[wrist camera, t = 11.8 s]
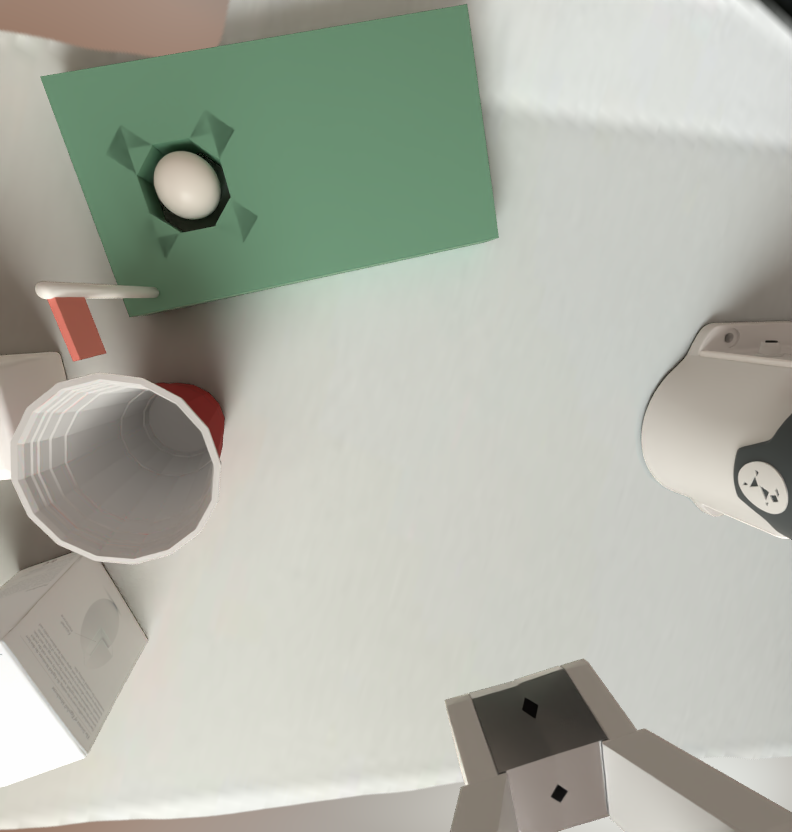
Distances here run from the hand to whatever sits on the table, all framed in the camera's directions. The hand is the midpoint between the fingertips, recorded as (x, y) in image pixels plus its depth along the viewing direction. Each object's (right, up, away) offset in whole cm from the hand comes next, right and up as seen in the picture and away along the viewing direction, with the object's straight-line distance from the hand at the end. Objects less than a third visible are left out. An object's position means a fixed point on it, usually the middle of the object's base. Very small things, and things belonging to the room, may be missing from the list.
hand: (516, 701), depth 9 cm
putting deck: (-10, +23, +23) cm, 34 cm away
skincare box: (-29, -10, +29) cm, 42 cm away
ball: (-16, +21, +20) cm, 33 cm away
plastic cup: (-19, +6, +26) cm, 33 cm away
